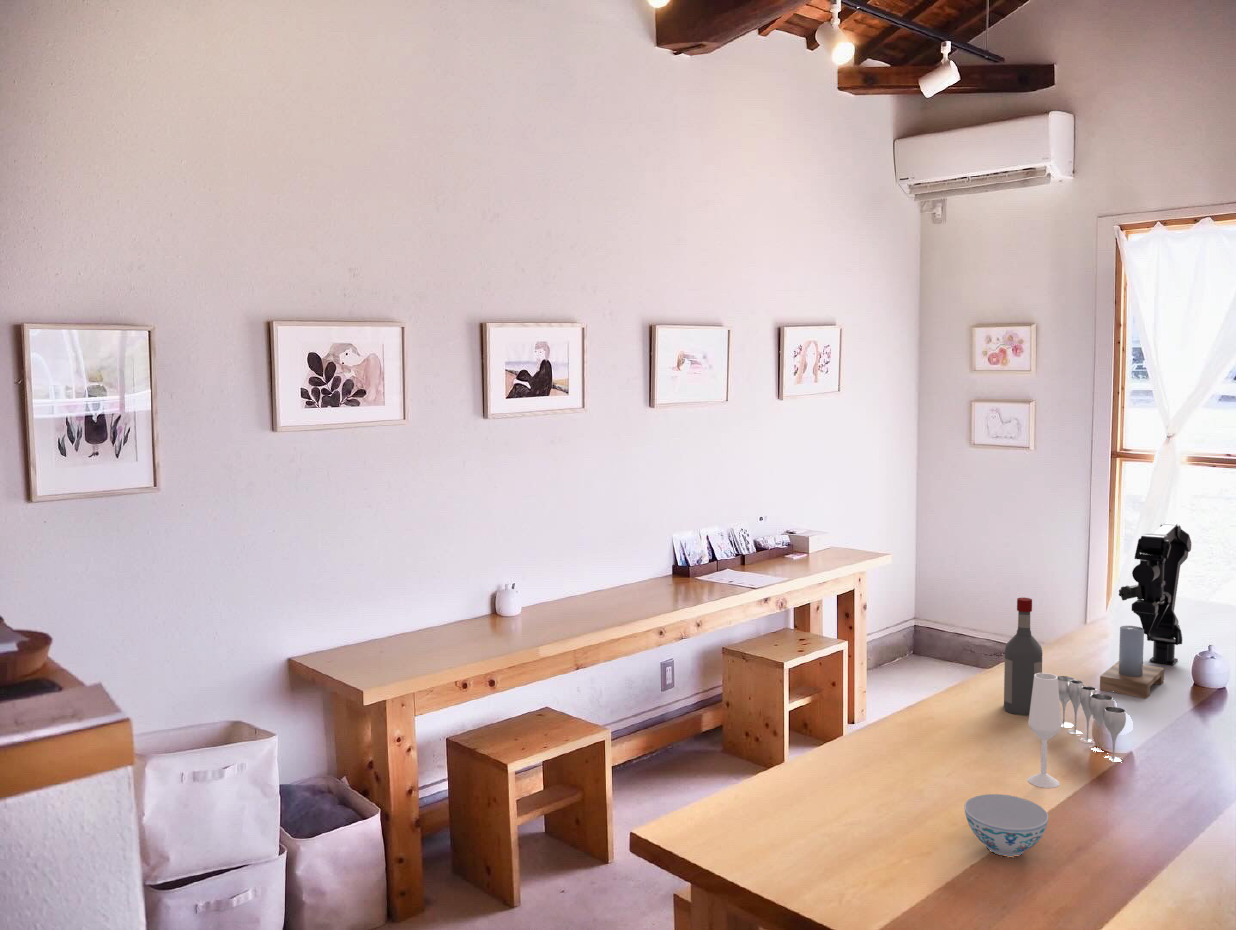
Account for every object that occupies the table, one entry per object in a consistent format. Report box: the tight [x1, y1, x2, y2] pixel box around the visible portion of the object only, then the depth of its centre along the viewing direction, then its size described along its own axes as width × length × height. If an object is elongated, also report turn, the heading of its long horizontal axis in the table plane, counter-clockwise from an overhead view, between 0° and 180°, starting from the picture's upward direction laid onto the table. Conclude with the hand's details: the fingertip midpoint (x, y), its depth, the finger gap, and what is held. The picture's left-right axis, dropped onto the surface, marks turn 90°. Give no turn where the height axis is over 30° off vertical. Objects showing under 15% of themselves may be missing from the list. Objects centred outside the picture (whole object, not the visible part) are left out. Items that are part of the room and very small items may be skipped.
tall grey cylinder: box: [1118, 625, 1145, 677], centre depth 286 cm, size 6×6×13 cm
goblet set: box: [1056, 675, 1127, 763], centre depth 249 cm, size 28×6×13 cm, turn 4°
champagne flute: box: [1027, 672, 1062, 789], centre depth 225 cm, size 7×7×24 cm
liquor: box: [1003, 597, 1043, 716], centre depth 270 cm, size 9×9×30 cm
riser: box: [1099, 660, 1165, 699], centre depth 289 cm, size 18×12×4 cm, turn 139°
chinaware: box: [964, 793, 1049, 856], centre depth 196 cm, size 15×15×8 cm
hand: (1150, 630), depth 297 cm, fingers open, 9 cm apart
